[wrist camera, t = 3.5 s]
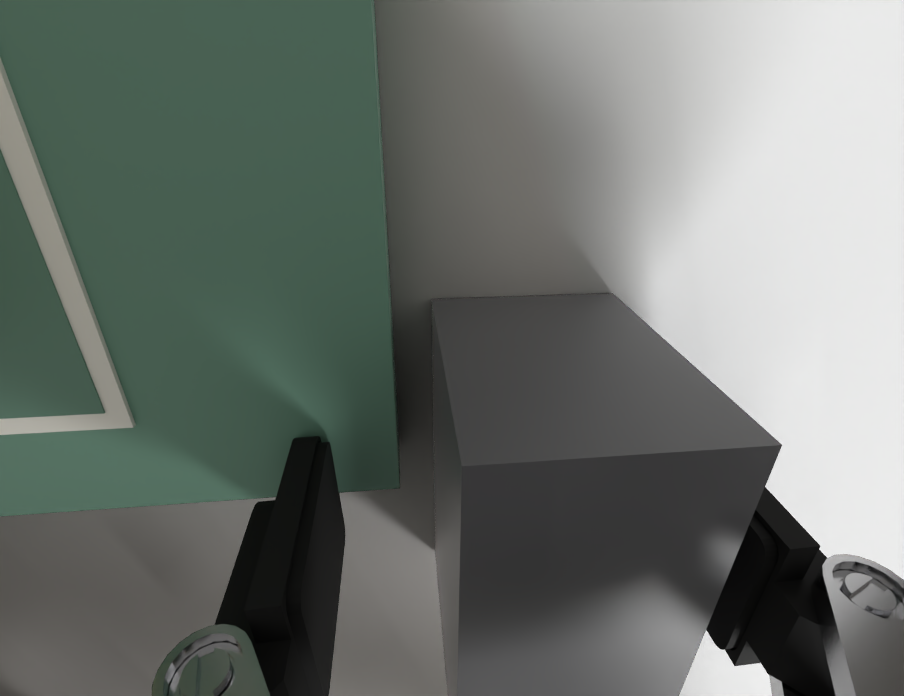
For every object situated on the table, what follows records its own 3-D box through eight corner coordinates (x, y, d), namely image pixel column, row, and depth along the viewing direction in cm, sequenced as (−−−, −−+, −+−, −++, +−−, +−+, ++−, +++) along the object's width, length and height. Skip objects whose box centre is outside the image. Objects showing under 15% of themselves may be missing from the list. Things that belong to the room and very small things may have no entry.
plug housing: (612, 293, 11) (782, 445, 6) (569, 540, 15) (654, 754, 10) (431, 299, 11) (461, 466, 6) (435, 552, 14) (454, 781, 10)
